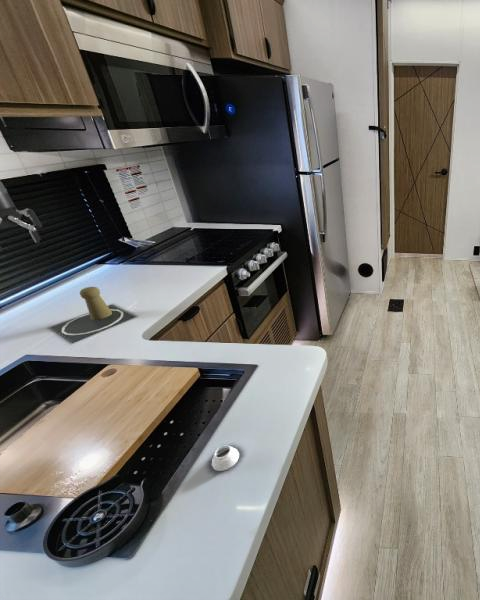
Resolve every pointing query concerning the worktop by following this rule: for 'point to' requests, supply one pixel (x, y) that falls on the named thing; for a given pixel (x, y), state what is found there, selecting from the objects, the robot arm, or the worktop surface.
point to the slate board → (90, 324)
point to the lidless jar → (225, 458)
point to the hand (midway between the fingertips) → (19, 246)
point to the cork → (95, 303)
